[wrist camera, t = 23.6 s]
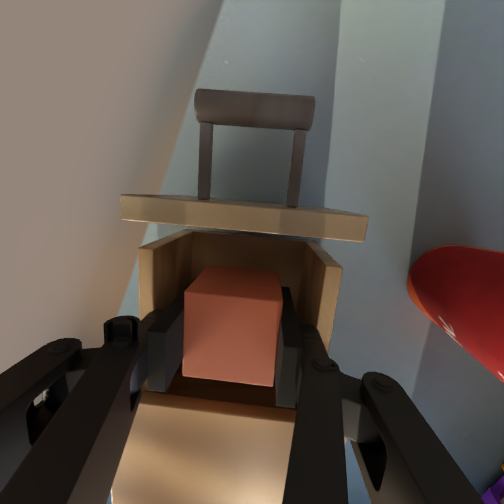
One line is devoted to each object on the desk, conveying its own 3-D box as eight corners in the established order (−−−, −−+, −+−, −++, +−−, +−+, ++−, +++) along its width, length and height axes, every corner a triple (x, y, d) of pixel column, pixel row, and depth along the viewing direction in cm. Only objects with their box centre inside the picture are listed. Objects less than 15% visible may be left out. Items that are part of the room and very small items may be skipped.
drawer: (180, 115, 18) (115, 55, 10) (340, 127, 17) (396, 72, 10) (176, 350, 22) (127, 431, 14) (304, 365, 22) (324, 456, 14)
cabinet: (173, 313, 22) (105, 398, 13) (314, 329, 22) (349, 429, 12) (171, 443, 26) (115, 586, 16) (294, 460, 25) (309, 617, 16)
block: (207, 264, 16) (183, 290, 11) (279, 271, 16) (283, 301, 11) (204, 329, 17) (181, 376, 12) (271, 336, 17) (273, 387, 12)
